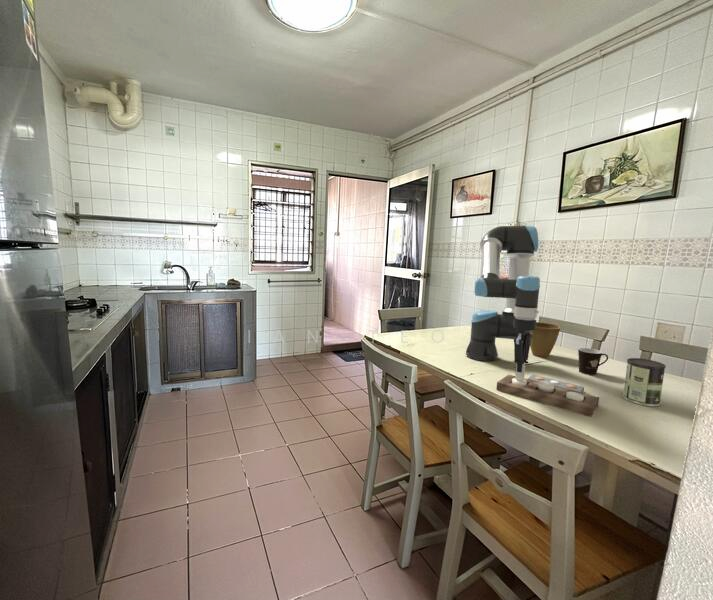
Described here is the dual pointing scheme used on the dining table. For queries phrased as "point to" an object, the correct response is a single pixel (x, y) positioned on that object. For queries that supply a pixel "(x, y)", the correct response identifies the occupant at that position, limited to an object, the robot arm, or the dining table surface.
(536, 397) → the button board
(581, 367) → the coffee mug
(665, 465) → the dining table surface
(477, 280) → the robot arm
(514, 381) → the button left
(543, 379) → the pattern sign
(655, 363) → the coffee can
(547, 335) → the plant pot
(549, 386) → the button middle
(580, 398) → the button right
